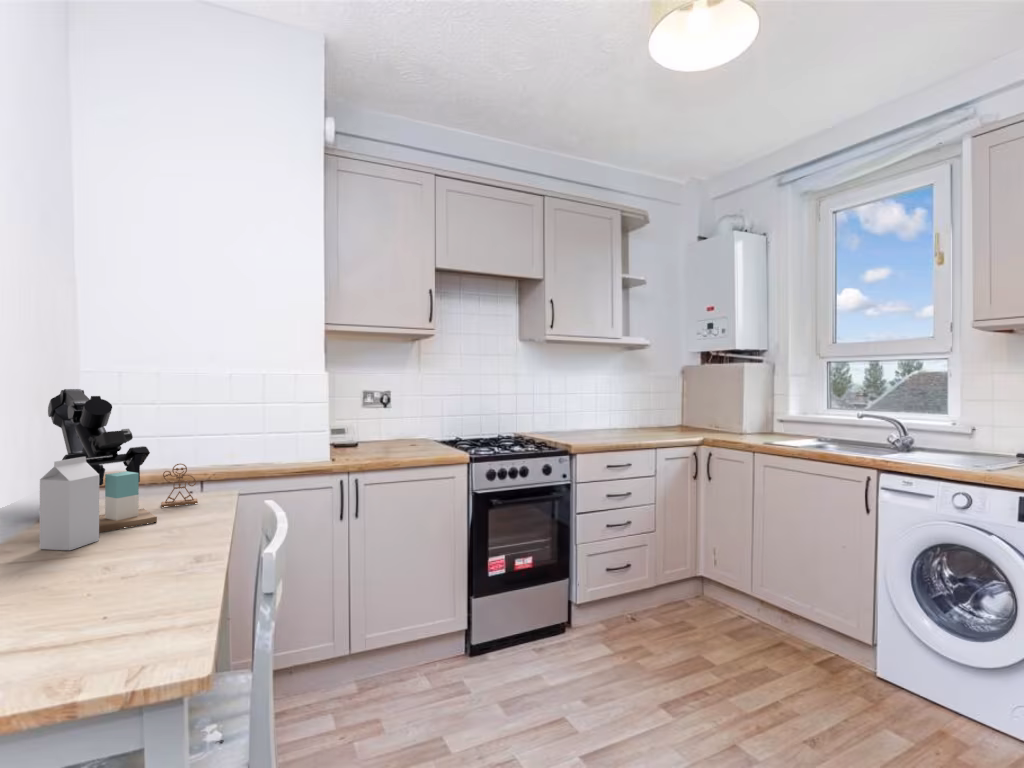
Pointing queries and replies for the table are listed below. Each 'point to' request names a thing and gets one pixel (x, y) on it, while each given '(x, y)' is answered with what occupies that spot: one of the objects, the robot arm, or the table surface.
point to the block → (121, 495)
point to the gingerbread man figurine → (179, 502)
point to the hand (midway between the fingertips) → (118, 485)
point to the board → (126, 521)
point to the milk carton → (69, 505)
